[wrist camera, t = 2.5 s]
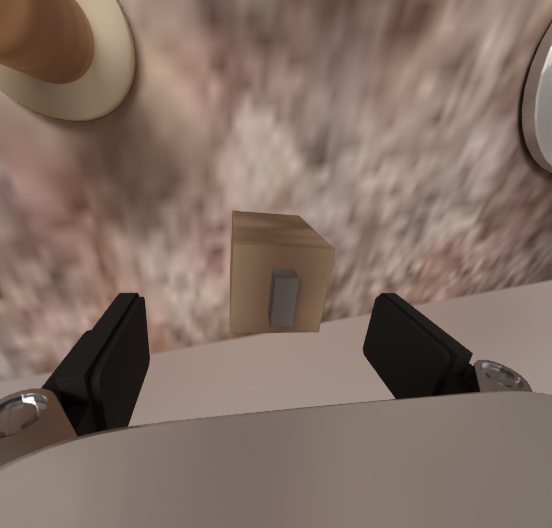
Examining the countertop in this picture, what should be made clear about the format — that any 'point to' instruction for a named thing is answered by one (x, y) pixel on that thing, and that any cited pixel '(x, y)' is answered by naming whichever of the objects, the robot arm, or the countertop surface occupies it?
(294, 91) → the countertop surface
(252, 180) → the countertop surface
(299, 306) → the block
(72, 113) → the cream drawer knob
